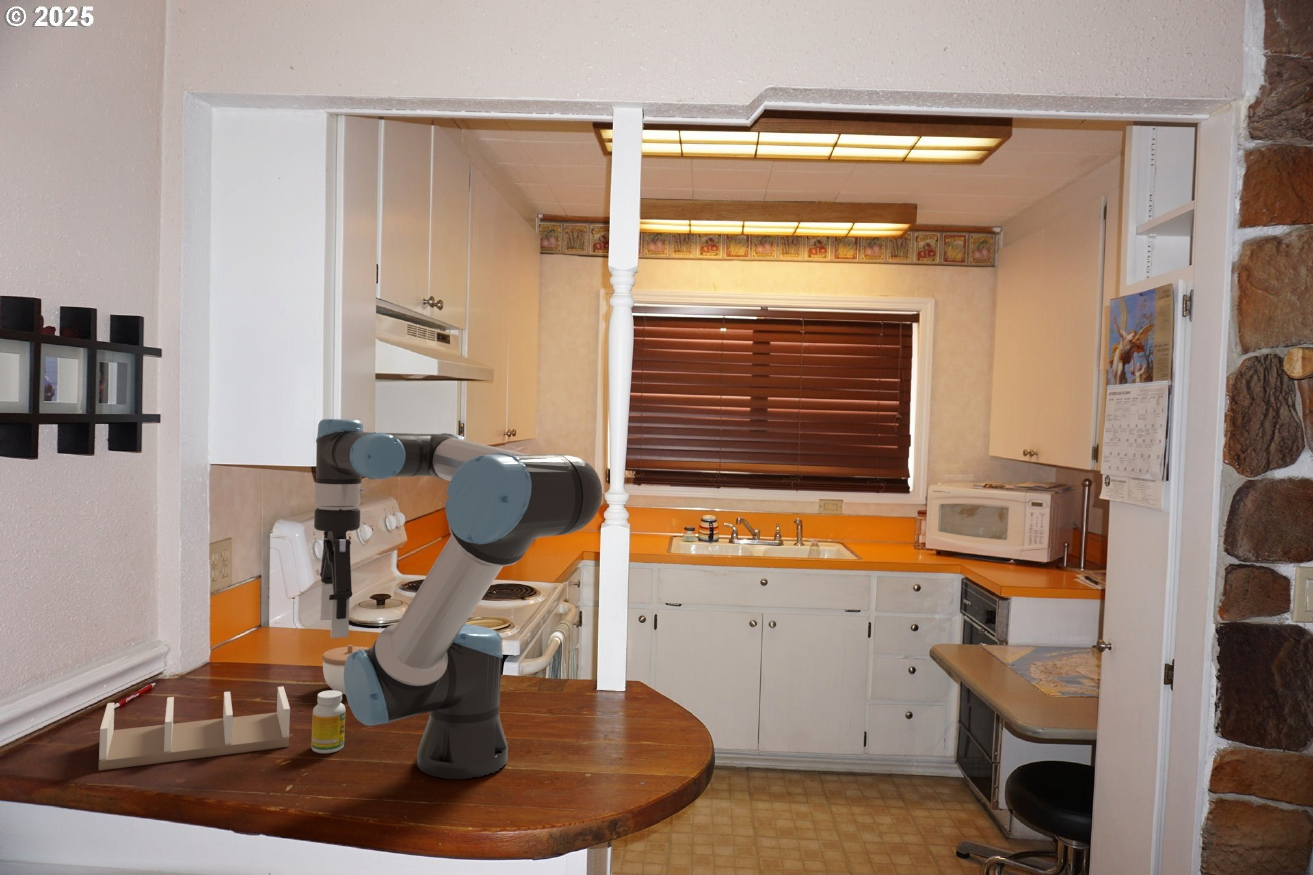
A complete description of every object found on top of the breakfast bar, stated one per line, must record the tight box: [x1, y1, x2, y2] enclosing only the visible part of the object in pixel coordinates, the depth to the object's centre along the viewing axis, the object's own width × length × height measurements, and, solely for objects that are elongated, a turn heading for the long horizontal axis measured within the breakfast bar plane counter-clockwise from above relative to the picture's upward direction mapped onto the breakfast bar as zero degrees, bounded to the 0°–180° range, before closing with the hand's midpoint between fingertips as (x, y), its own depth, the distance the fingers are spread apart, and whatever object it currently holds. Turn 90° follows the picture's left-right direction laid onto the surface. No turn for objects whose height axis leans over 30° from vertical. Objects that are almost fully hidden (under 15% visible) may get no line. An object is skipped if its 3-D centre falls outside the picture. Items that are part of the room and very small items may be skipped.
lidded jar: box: [322, 644, 370, 695], centre depth 182 cm, size 11×11×9 cm
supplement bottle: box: [311, 689, 346, 754], centre depth 151 cm, size 5×5×10 cm
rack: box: [98, 686, 291, 771], centre depth 150 cm, size 14×28×6 cm, turn 118°
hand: (333, 628), depth 152 cm, fingers open, 13 cm apart
